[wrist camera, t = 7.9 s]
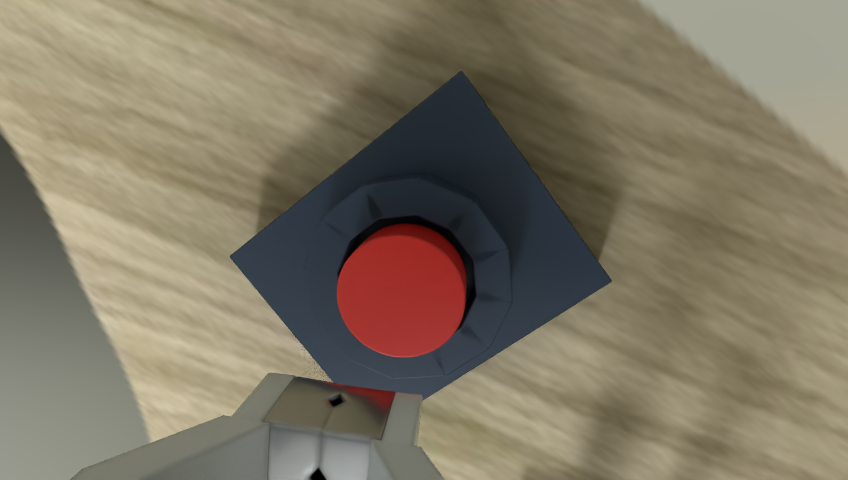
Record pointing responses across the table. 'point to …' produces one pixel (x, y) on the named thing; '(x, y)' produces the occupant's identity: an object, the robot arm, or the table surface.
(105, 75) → the table surface
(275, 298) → the button block
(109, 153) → the table surface
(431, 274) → the button
